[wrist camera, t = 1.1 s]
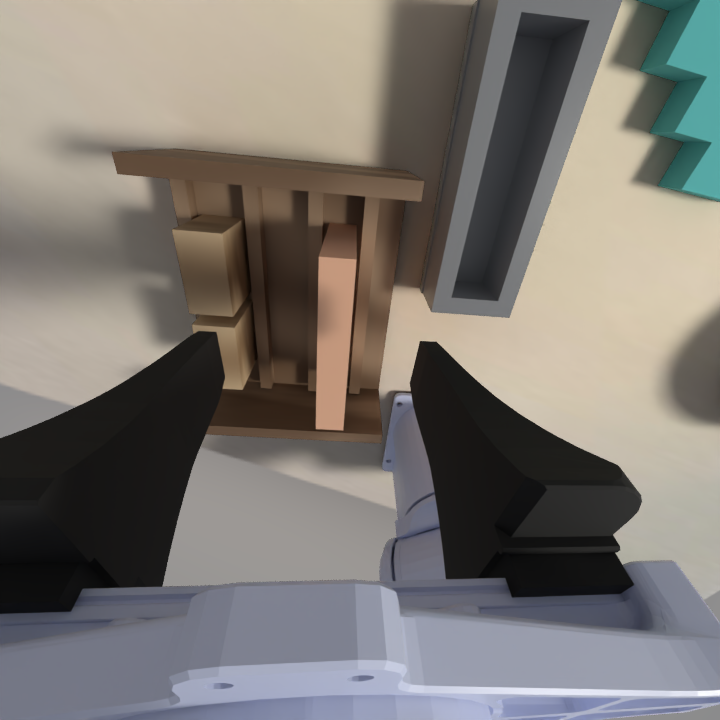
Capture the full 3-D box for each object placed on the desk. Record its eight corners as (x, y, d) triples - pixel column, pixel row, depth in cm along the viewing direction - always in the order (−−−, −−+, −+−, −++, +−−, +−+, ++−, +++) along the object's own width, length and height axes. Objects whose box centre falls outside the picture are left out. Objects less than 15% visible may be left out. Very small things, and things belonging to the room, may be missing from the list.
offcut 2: (257, 356, 25) (242, 389, 22) (225, 354, 25) (204, 387, 22) (252, 300, 23) (234, 327, 19) (216, 297, 23) (191, 324, 19)
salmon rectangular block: (346, 364, 26) (343, 430, 20) (325, 362, 26) (315, 429, 20) (356, 225, 20) (356, 259, 14) (329, 222, 20) (318, 256, 14)
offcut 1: (251, 290, 22) (232, 316, 19) (214, 287, 22) (189, 313, 19) (244, 218, 20) (222, 233, 17) (203, 214, 20) (171, 229, 16)
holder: (490, 294, 24) (510, 317, 21) (419, 288, 24) (429, 311, 20) (575, 17, 16) (629, -13, 13) (473, 4, 16) (502, -29, 13)
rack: (376, 389, 28) (381, 443, 23) (217, 379, 28) (186, 433, 23) (407, 170, 20) (424, 181, 15) (176, 148, 19) (111, 152, 14)
